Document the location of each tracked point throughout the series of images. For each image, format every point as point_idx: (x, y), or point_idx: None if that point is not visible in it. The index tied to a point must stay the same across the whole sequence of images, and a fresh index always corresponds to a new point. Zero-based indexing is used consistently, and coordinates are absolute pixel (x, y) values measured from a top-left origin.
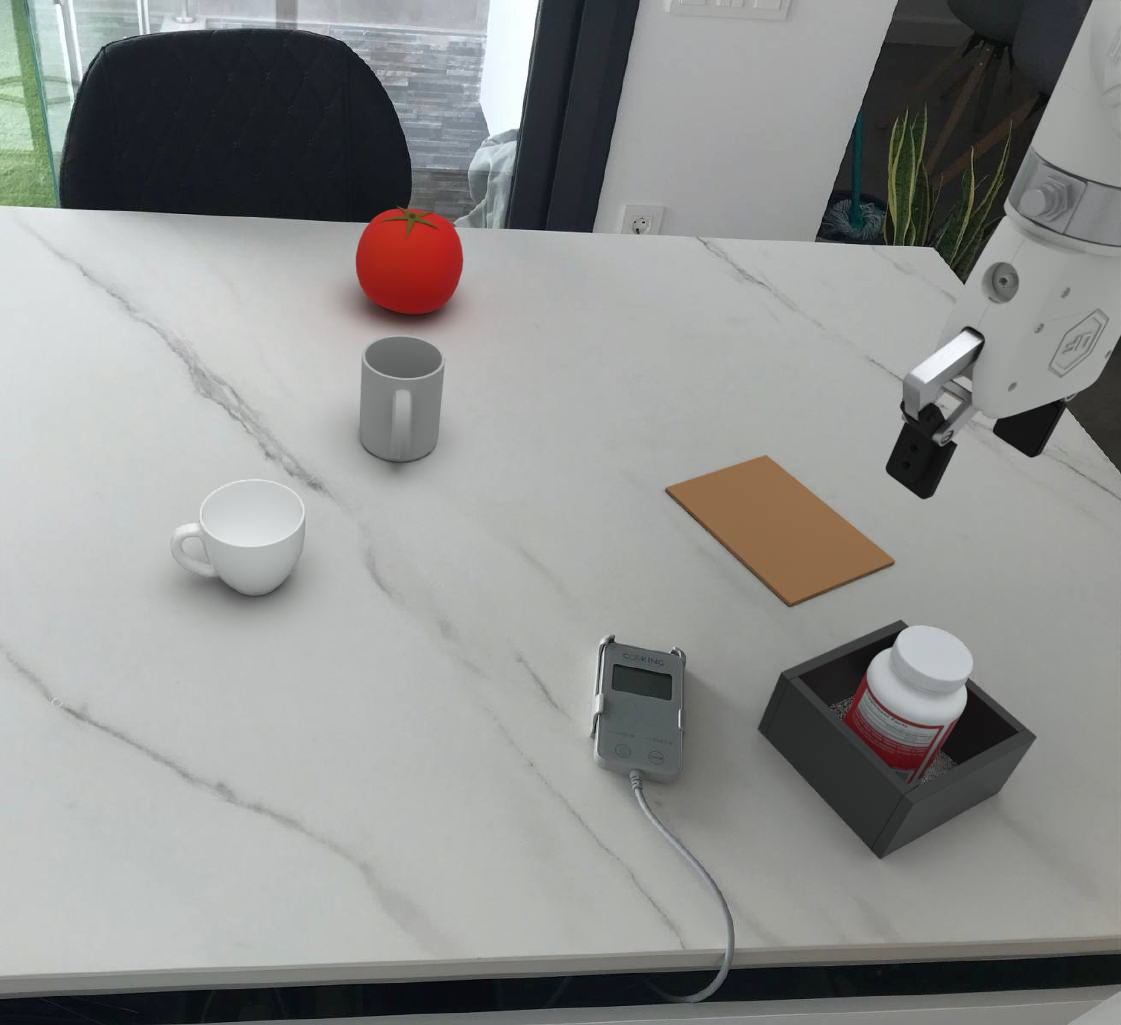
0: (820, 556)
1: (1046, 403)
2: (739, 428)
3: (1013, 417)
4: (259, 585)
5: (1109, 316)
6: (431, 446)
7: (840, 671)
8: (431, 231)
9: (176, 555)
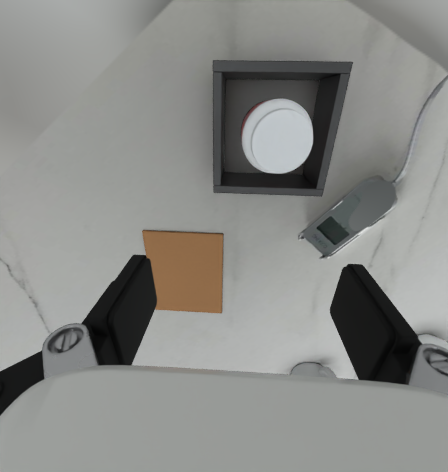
0: (181, 251)
1: (255, 379)
2: (154, 325)
3: (144, 316)
4: (445, 341)
5: None
6: (303, 366)
7: (268, 182)
8: None
9: None
